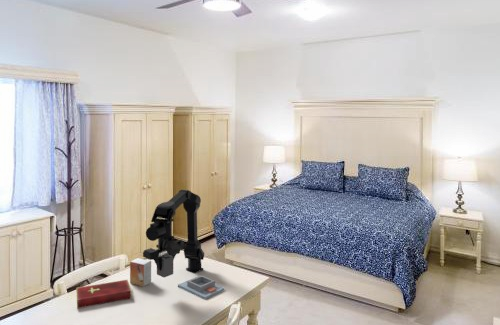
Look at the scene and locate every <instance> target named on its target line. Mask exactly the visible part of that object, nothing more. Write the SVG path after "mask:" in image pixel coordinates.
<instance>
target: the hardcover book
mask: <svg viewBox="0 0 500 325" xmlns="http://www.w3.org/2000/svg"><path fill="white" fill-rule="evenodd" d="M130 286H131V285H130V282H129V280H128V279H123V280H117V281H110V282H103V283H98V284H91V285H85V286H80V287H79V286H78V287H76V288H75V289H76V306H77V307H76V309H79V308H80V309H81V308H87V307H92V306H97V305H102V304H106V303H107V304H108V303H115V302H119V301H124V300H125V301H126V300H131V299H132V289H131V287H130Z"/></svg>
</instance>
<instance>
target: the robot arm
mask: <svg viewBox="0 0 500 325" xmlns="http://www.w3.org/2000/svg"><path fill="white" fill-rule="evenodd" d="M201 201H202V199H201V197H200V196H199V195H198V194H196V193H194V192H192V191H191V190H189V189H179V191H178V192H177V193H176V194H175V195H174V196H173V197H172V198H170V199H169V200H168V201H165V202H161V203H159V204H158V205H157V206H156V207H155V209H154V212H153V214H152V218H151V221H150V222H151V223H150V224H149V227H148V228H147V229H146V231H145V236H146V239H148V240H149V241H152V242H154V241H157V240H158V241H157V244H156V249H155V248H152V247H151V248H147V249H144V250H143V252H142V257H143V258H144V259H145V258H146V260H150V261H154V263H155V265H156V268H157V267H158V269H159V270H160V271H161V260H162V258H163V257H162V256H161V254H162V253H169V255H171V256H173V261H174V260H175V258H176V255H178V254H180V253H181V251H183V254H184V259H187V265H188V266H187V267H186V268H185V270H186V271H188V272H190V273H193V274H195V273H197V272H200V271H202V270H204V268H203V267H202V260H204V258H205V252H204V250H203V249H202V244H201V242H200V241H199V239H198V210H199V209H200V207H201ZM181 205H182V206H183V209H184V211H185V212H186V223H187V224H186V226H187V227H186V228H187V229H186V230H187V232H186V233H187V241H186V243H185V242H184V241H183V240H182V239H181V240H178V239H177V240H175V236H174V235H173V233H172V232H173V230H172V229H173V222H174V216H175V215H176V214H177V213H176V210H177V209H178V208H179V207H180V206H181Z"/></svg>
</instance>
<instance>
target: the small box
mask: <svg viewBox="0 0 500 325" xmlns="http://www.w3.org/2000/svg"><path fill="white" fill-rule="evenodd" d="M129 264H130V266H129V268H130V271H129V284H133V285H137V286H141V287H146V286H147V285H148V284H150V283H151V282H152V260H150V259H145V258H144V259H143V258H141V257H140V258H138V257H137V258H135V259H134V260H131V261H130V262H129Z"/></svg>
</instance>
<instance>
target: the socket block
mask: <svg viewBox="0 0 500 325" xmlns="http://www.w3.org/2000/svg"><path fill="white" fill-rule="evenodd" d="M177 287H178V288H180V289H182V290H184V291H186V292H188V293H190V294H193V295H195V296H197V297H199V298H201V299H204V300H208V299H209V298H212V297H213V296H216V295H218V294H219V293H221V292H224V291H225V287H223V286H221V285H220V284H219V285H218V284H216V281H215V280H214V279H211V278H209V277H207V276H205V275H200V276H195V277H193V278H191V279H188V280H185V281H183V282H181V283H179V284H177Z"/></svg>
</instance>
